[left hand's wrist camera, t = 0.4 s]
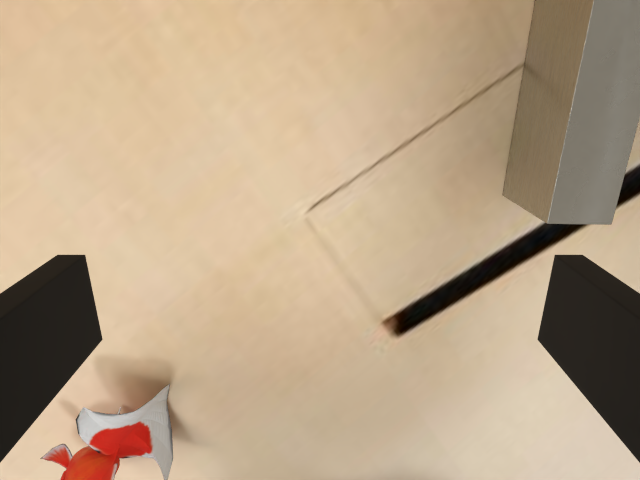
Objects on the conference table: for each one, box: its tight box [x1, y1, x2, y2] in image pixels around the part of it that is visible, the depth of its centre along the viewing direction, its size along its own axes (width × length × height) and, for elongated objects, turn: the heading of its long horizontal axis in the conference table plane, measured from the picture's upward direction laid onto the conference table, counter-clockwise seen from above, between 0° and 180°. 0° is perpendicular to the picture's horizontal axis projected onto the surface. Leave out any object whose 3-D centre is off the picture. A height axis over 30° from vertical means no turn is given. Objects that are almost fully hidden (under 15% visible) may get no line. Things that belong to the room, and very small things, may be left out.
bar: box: [503, 0, 640, 225], centre depth 30 cm, size 25×5×8 cm, turn 179°
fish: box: [42, 384, 173, 480], centre depth 43 cm, size 11×16×10 cm
